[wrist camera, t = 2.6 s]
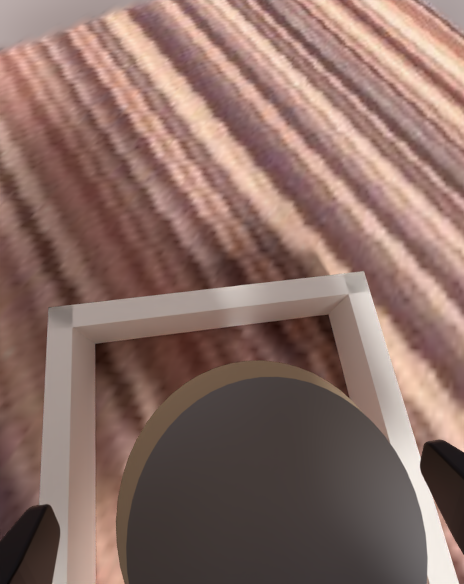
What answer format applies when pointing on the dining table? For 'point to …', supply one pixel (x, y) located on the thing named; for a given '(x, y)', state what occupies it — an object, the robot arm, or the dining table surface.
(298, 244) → the dining table surface
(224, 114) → the dining table surface
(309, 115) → the dining table surface
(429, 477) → the robot arm
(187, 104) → the dining table surface
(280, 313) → the u-shaped frame
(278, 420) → the pepper mill
